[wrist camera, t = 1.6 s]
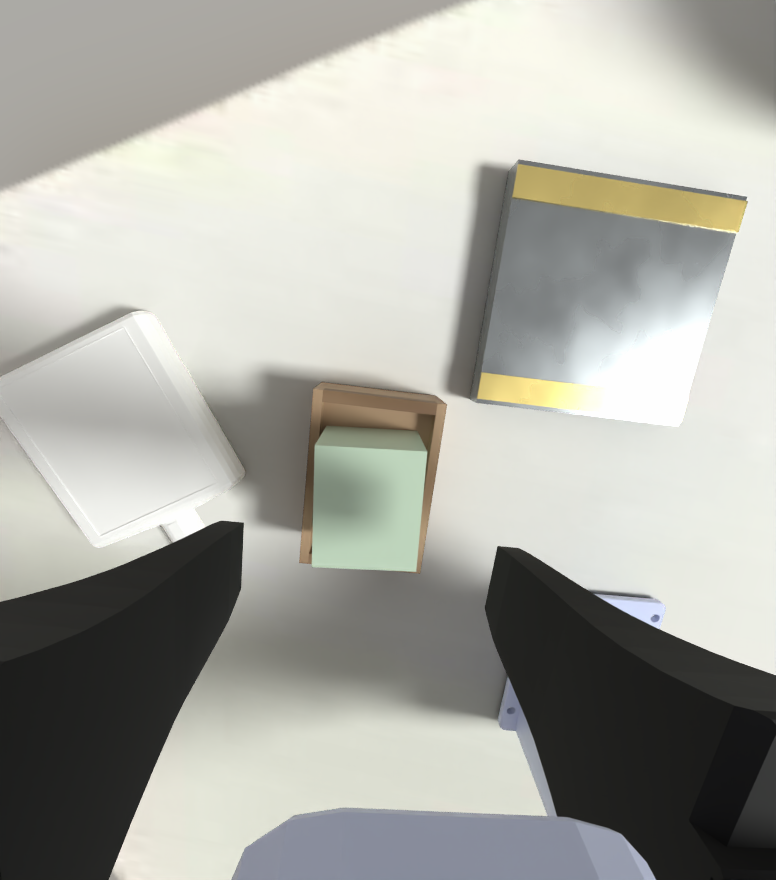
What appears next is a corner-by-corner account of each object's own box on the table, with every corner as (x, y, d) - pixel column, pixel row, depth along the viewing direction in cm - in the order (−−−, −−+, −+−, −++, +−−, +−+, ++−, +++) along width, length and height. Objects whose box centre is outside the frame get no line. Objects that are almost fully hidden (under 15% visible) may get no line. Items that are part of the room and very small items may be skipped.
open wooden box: (412, 539, 22) (419, 573, 18) (310, 529, 21) (299, 562, 18) (434, 394, 20) (446, 404, 17) (322, 381, 19) (313, 388, 16)
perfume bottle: (135, 308, 16) (273, 544, 19) (159, 312, 18) (282, 526, 21) (-28, 388, 17) (129, 608, 20) (12, 384, 19) (151, 584, 22)
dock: (660, 421, 20) (679, 426, 19) (469, 399, 20) (476, 402, 18) (722, 206, 18) (749, 195, 17) (508, 171, 17) (519, 158, 16)
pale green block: (408, 530, 19) (416, 571, 15) (323, 526, 18) (311, 567, 15) (417, 430, 18) (427, 451, 14) (326, 425, 17) (314, 445, 14)
